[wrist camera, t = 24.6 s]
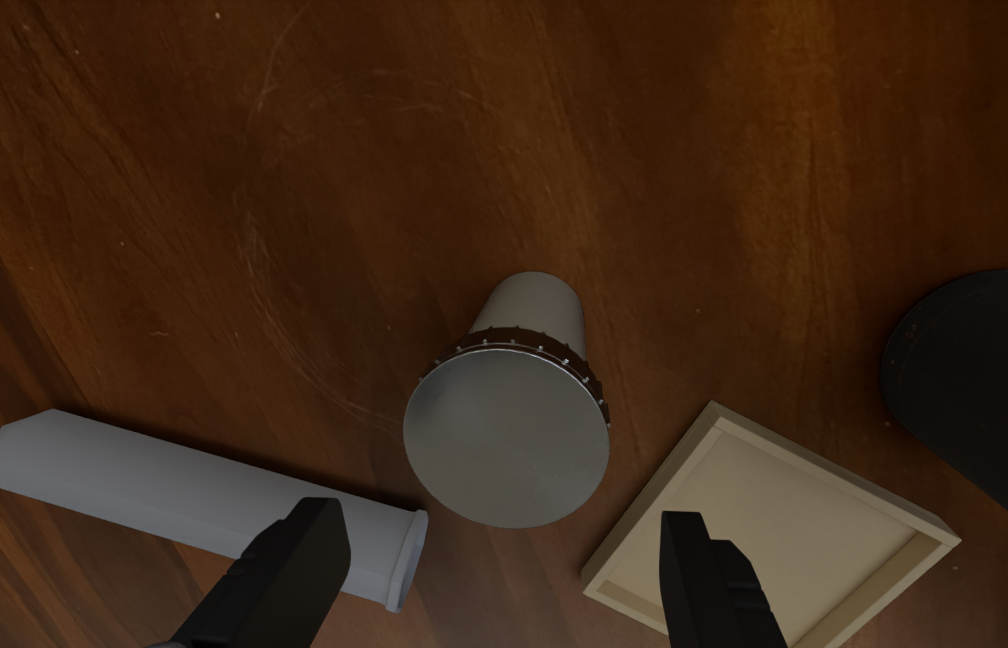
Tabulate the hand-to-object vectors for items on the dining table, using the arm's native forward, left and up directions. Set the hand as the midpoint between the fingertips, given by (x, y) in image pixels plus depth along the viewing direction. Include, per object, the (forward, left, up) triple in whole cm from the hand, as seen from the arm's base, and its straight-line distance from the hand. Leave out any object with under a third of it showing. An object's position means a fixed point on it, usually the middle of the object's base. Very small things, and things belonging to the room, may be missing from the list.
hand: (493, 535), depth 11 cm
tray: (+6, +16, -14) cm, 22 cm away
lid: (0, 0, -4) cm, 4 cm away
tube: (+18, -12, -14) cm, 26 cm away
